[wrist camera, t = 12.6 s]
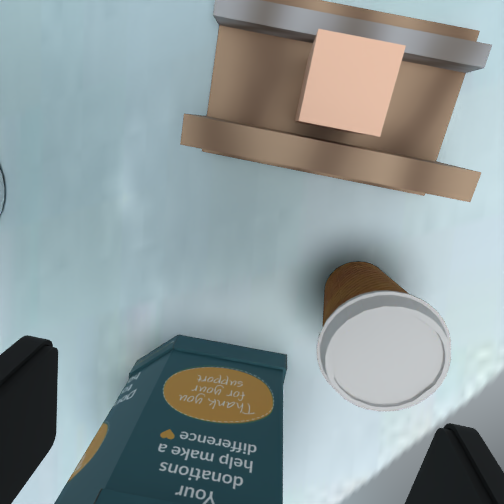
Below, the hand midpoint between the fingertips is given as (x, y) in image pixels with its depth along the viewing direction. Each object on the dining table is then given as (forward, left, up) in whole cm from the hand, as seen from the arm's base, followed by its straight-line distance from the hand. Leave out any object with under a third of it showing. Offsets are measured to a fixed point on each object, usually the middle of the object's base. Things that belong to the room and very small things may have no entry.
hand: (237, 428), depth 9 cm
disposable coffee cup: (+10, -7, -28) cm, 31 cm away
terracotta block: (+3, +10, -27) cm, 29 cm away
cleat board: (+3, +10, -28) cm, 30 cm away
